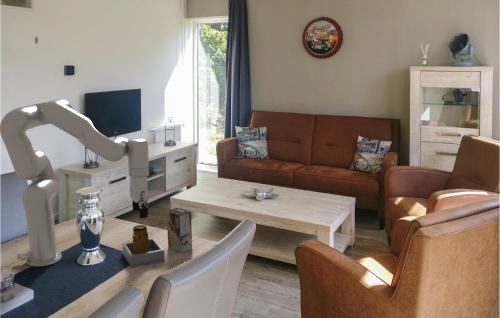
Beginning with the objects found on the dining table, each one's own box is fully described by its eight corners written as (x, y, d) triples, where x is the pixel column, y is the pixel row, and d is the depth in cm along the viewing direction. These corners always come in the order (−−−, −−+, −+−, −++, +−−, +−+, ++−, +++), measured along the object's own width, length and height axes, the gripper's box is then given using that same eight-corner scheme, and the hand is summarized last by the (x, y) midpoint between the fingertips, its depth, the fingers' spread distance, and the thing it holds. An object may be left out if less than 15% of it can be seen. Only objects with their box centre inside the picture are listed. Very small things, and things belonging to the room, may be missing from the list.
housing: (131, 267, 174) (131, 256, 174) (123, 254, 187) (122, 243, 186) (164, 260, 180) (164, 249, 179) (154, 247, 193) (153, 237, 192)
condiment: (133, 252, 186) (132, 224, 183) (155, 251, 187) (153, 223, 184) (131, 259, 179) (129, 230, 176) (153, 258, 180) (152, 229, 177)
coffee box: (193, 248, 192) (192, 212, 188) (181, 253, 187) (179, 215, 184) (179, 242, 198) (178, 207, 194) (167, 247, 193) (165, 210, 190)
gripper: (123, 167, 182) (125, 208, 185) (134, 177, 167) (136, 222, 170) (142, 165, 185) (143, 206, 189) (155, 175, 170) (156, 219, 174)
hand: (140, 213), depth 180 cm, fingers open, 9 cm apart
